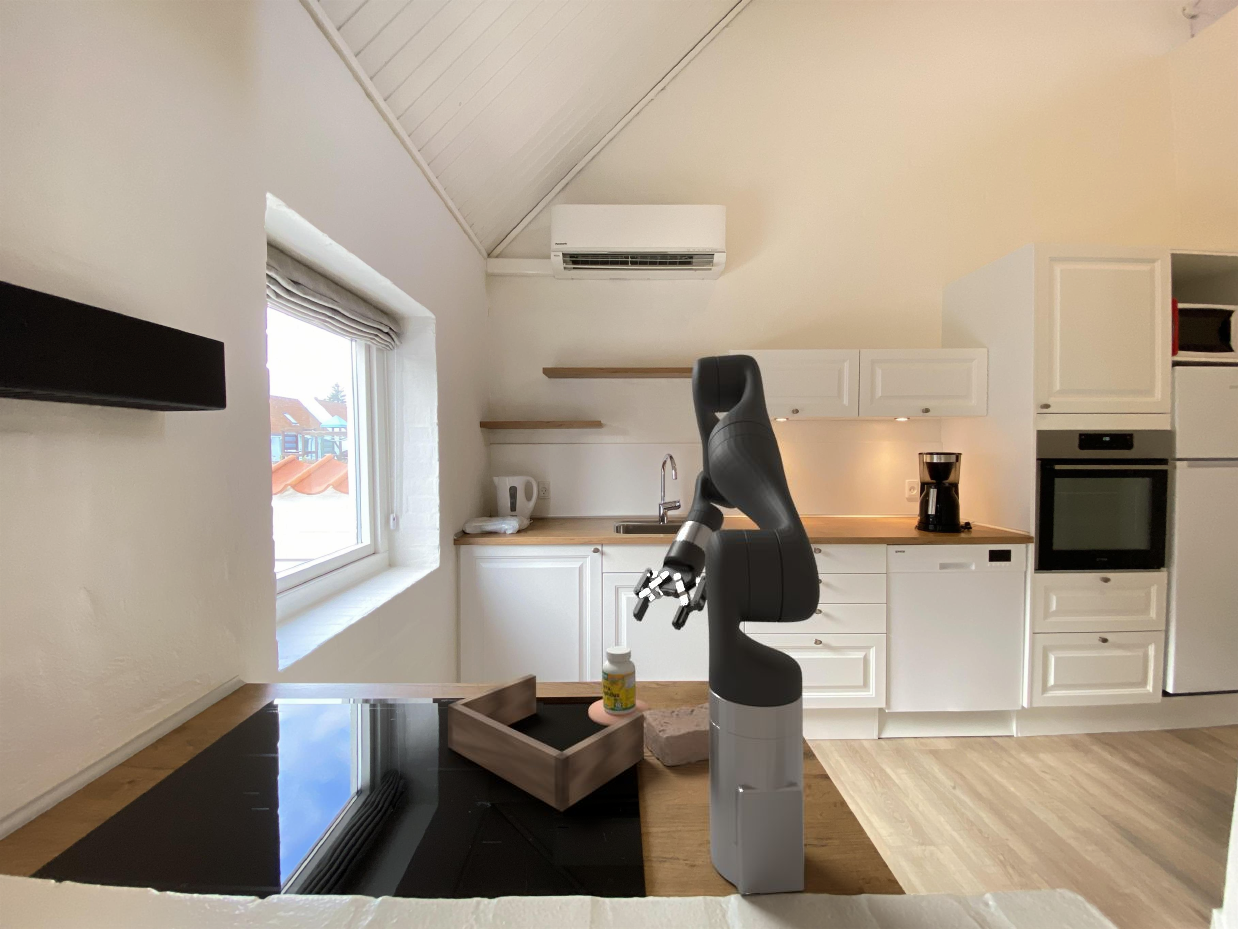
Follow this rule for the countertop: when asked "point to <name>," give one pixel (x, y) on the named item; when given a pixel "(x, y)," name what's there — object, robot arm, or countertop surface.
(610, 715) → the pink round coaster
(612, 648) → the supplement bottle
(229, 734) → the countertop surface
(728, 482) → the robot arm
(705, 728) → the brick
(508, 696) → the wooden frame
